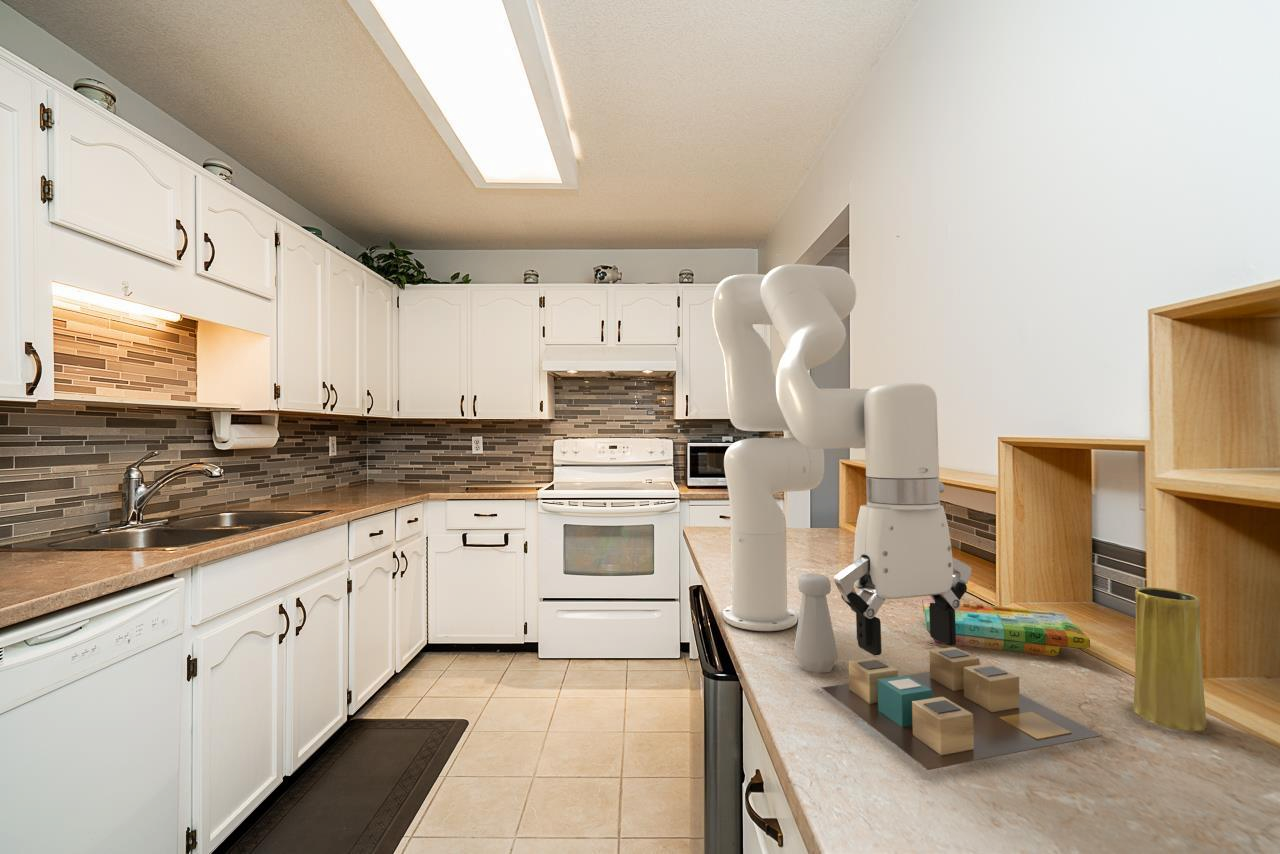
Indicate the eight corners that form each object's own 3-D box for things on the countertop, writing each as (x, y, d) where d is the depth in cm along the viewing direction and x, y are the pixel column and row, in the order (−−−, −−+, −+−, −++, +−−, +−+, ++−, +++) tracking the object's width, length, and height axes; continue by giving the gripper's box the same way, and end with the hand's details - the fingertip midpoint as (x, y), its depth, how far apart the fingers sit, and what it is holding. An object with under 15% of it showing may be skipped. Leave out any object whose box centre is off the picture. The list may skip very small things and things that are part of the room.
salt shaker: (840, 665, 79) (839, 572, 79) (835, 682, 74) (834, 582, 74) (797, 658, 82) (796, 568, 82) (790, 674, 76) (789, 578, 77)
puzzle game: (921, 594, 96) (1064, 607, 88) (922, 622, 96) (1065, 638, 88) (926, 615, 85) (1089, 632, 78) (927, 646, 85) (1090, 667, 78)
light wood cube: (849, 689, 71) (848, 659, 71) (876, 685, 72) (876, 656, 72) (869, 704, 67) (869, 672, 67) (898, 699, 68) (898, 668, 68)
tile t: (963, 696, 68) (963, 666, 68) (990, 692, 69) (989, 662, 69) (991, 712, 64) (991, 680, 64) (1019, 707, 65) (1019, 675, 65)
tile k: (912, 735, 60) (911, 700, 60) (943, 729, 61) (943, 695, 61) (941, 755, 56) (940, 718, 56) (974, 749, 57) (973, 712, 57)
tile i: (929, 677, 74) (929, 649, 74) (954, 674, 75) (954, 645, 75) (953, 691, 70) (953, 661, 70) (980, 687, 71) (979, 657, 71)
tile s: (878, 710, 65) (877, 678, 65) (907, 705, 66) (906, 674, 66) (902, 727, 61) (901, 693, 61) (933, 722, 62) (932, 689, 62)
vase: (1215, 742, 59) (1213, 604, 59) (1138, 726, 62) (1136, 596, 62) (1197, 716, 64) (1195, 590, 64) (1127, 703, 67) (1125, 583, 67)
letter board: (821, 692, 71) (820, 686, 71) (964, 671, 77) (964, 666, 77) (927, 775, 54) (927, 768, 54) (1102, 741, 59) (1102, 734, 59)
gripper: (940, 488, 70) (945, 628, 69) (815, 493, 65) (819, 643, 65) (992, 493, 62) (998, 649, 62) (856, 499, 58) (861, 668, 58)
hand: (906, 646), depth 63 cm, fingers open, 9 cm apart
